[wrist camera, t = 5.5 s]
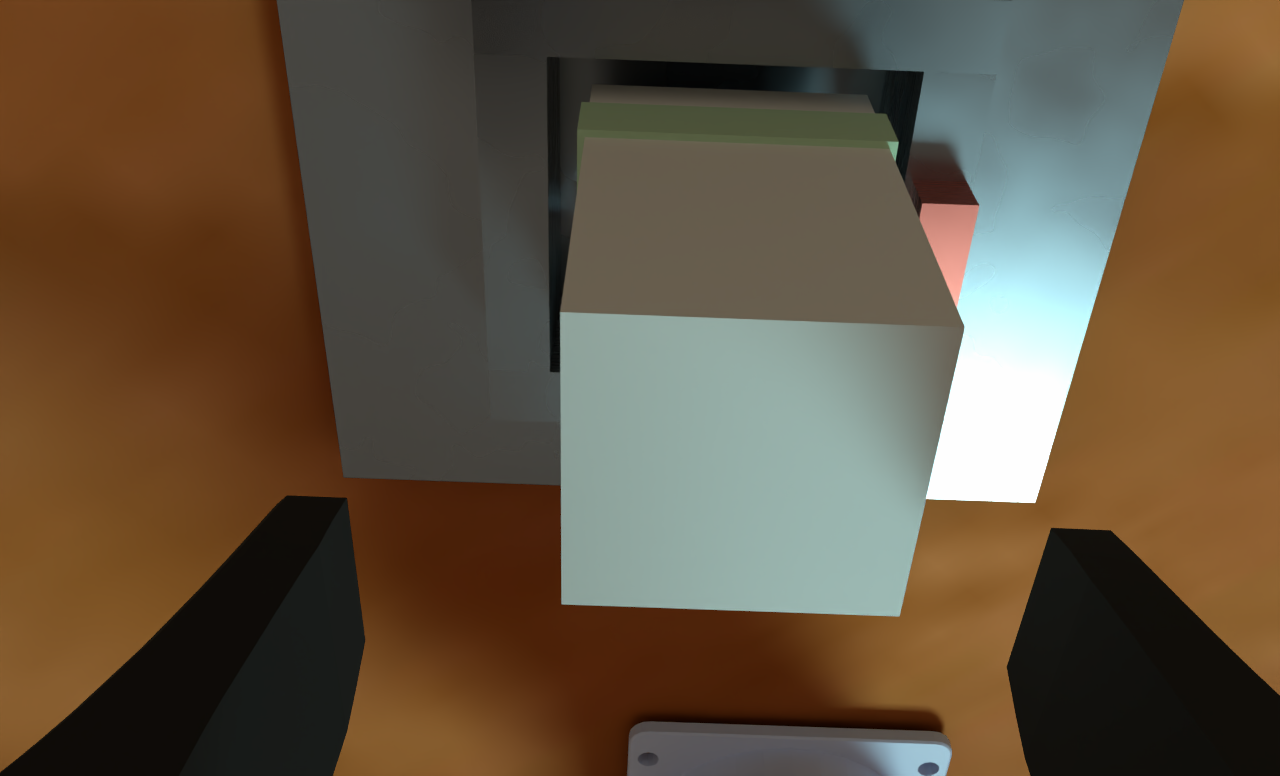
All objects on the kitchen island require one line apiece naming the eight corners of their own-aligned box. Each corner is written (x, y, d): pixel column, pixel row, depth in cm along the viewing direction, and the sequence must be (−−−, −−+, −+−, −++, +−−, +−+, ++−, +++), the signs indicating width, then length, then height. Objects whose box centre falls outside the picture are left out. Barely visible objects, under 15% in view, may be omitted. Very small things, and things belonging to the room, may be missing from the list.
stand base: (1022, 472, 24) (1084, 621, 21) (354, 447, 24) (301, 593, 21) (1242, -304, 16) (1402, -278, 13) (250, -347, 16) (136, -331, 13)
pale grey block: (837, 335, 19) (906, 622, 14) (583, 326, 19) (553, 609, 14) (875, 88, 17) (977, 318, 11) (585, 77, 17) (550, 303, 11)
